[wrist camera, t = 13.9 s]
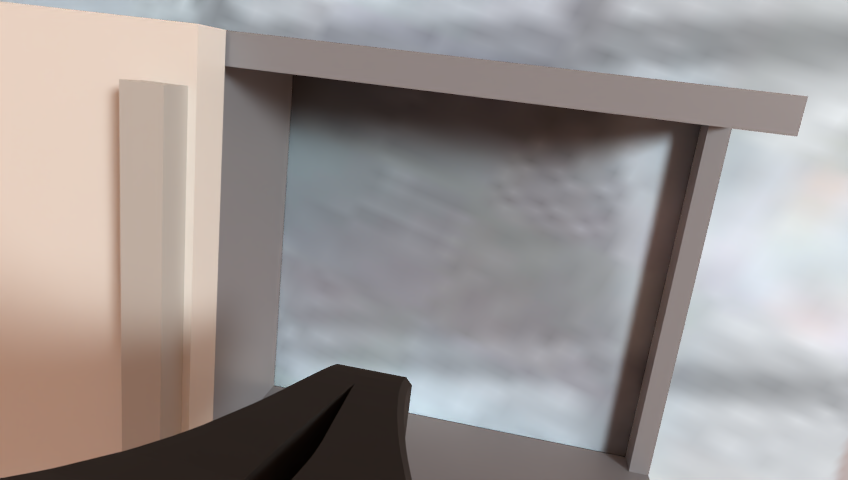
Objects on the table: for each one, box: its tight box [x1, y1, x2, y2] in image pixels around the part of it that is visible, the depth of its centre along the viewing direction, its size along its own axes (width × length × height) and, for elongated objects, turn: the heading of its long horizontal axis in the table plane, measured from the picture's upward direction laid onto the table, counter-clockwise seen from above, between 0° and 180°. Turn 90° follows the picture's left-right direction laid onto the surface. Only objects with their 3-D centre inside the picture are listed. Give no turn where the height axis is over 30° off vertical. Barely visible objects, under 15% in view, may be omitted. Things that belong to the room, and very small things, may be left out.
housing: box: [213, 30, 808, 480], centre depth 18 cm, size 13×26×5 cm, turn 83°
